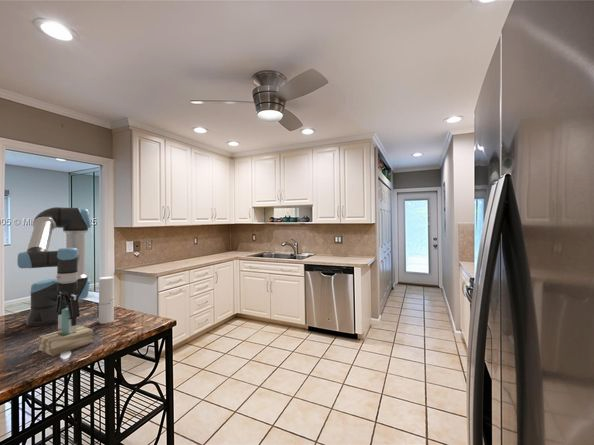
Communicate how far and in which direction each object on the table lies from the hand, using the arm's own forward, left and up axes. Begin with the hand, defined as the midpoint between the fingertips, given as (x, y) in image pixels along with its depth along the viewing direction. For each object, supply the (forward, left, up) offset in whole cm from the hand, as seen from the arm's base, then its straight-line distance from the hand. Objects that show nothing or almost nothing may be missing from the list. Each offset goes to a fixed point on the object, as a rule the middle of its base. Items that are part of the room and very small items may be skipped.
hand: (67, 330), depth 134 cm
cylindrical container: (-18, +27, -8) cm, 33 cm away
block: (0, 0, -7) cm, 7 cm away
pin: (0, 0, -4) cm, 4 cm away
